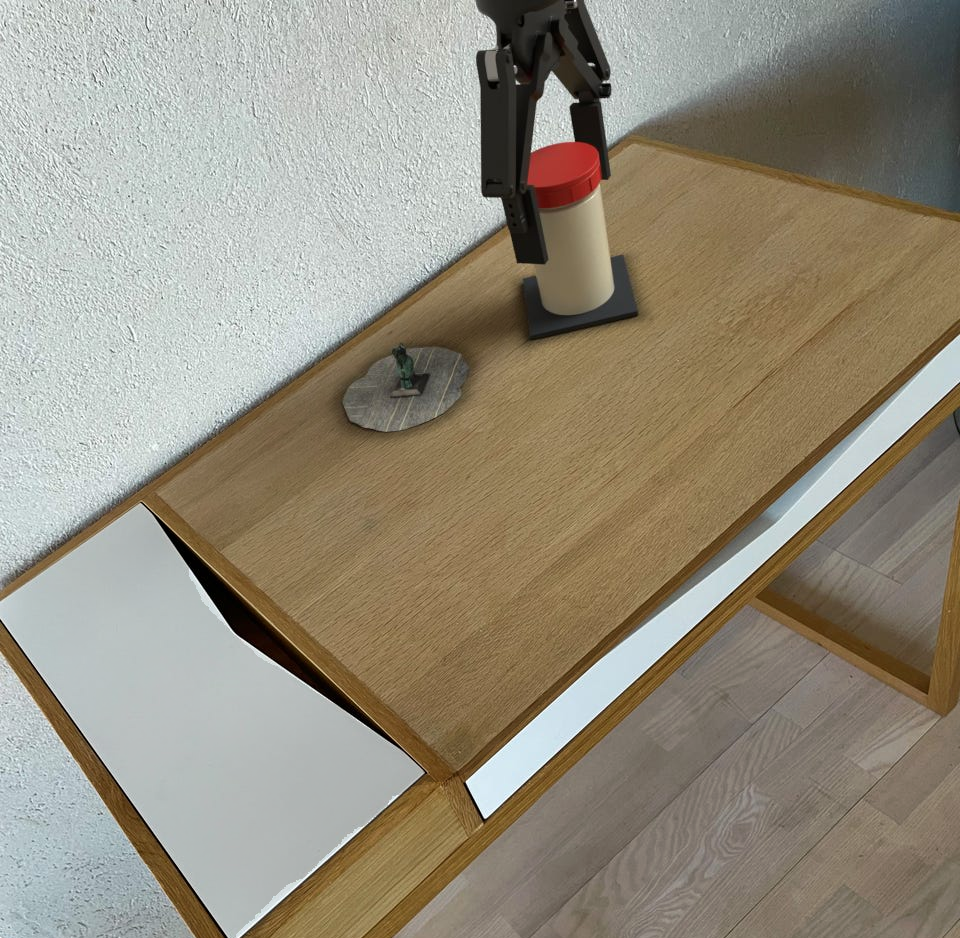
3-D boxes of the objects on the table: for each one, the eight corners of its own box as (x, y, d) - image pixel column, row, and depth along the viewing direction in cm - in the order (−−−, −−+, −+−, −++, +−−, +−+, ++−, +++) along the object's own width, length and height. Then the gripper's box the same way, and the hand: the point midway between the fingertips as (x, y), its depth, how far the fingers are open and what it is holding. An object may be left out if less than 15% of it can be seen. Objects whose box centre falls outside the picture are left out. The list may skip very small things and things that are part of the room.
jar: (609, 265, 92) (592, 146, 83) (619, 305, 87) (602, 183, 79) (538, 282, 93) (514, 166, 84) (544, 322, 89) (519, 204, 80)
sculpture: (448, 335, 93) (451, 304, 85) (480, 423, 93) (487, 400, 85) (331, 375, 92) (323, 347, 84) (364, 464, 92) (359, 445, 84)
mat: (623, 258, 93) (623, 254, 93) (638, 315, 87) (637, 310, 86) (523, 282, 95) (522, 278, 94) (530, 340, 88) (529, 335, 88)
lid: (580, 210, 79) (576, 188, 77) (502, 207, 82) (497, 186, 81) (615, 163, 82) (612, 141, 81) (538, 162, 86) (534, 141, 84)
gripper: (481, 10, 61) (543, 303, 77) (629, -134, 72) (656, 146, 88) (386, 18, 64) (464, 297, 80) (542, -121, 76) (583, 146, 92)
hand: (565, 218), depth 84 cm, fingers open, 13 cm apart
